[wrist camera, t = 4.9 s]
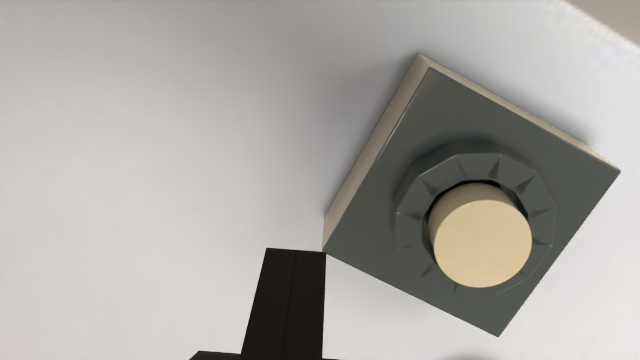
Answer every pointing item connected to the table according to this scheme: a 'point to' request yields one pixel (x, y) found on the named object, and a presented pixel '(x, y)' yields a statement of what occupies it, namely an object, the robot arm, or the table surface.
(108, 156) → the table surface
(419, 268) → the button housing
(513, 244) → the beige round knob
